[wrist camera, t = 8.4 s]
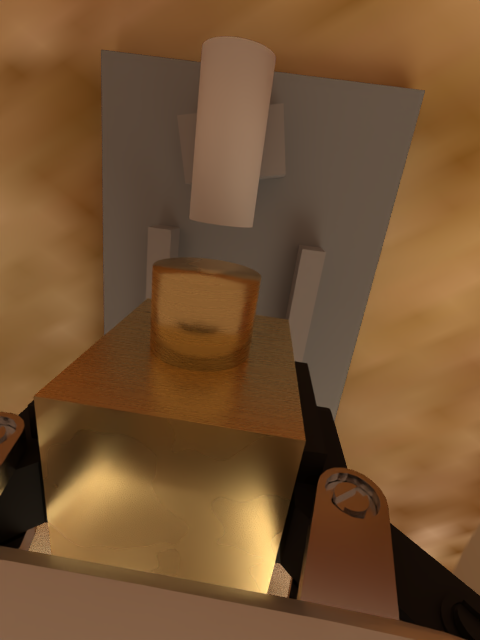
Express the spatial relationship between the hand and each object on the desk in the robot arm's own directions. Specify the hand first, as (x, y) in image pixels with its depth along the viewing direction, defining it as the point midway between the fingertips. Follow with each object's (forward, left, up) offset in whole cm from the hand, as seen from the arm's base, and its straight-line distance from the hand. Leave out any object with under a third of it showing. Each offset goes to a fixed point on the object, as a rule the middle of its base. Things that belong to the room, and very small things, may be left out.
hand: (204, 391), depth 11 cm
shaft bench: (0, 0, -8) cm, 8 cm away
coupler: (0, 0, -1) cm, 1 cm away
